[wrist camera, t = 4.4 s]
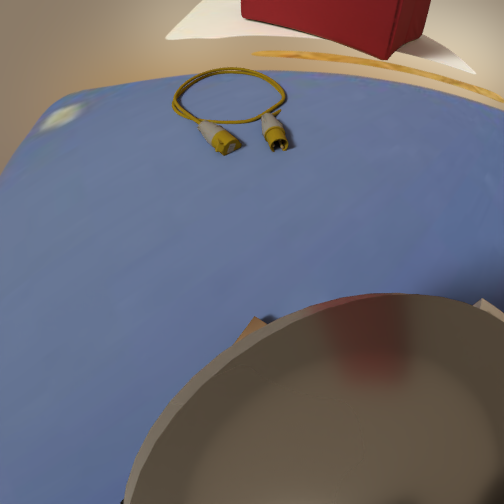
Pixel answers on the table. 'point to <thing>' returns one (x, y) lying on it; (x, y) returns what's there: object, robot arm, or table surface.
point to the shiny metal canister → (339, 411)
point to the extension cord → (224, 139)
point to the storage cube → (347, 21)
